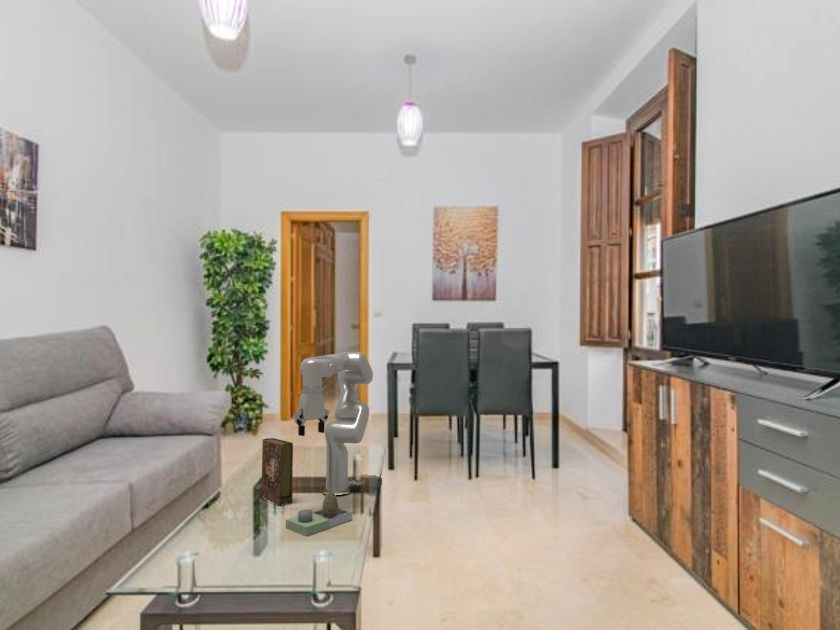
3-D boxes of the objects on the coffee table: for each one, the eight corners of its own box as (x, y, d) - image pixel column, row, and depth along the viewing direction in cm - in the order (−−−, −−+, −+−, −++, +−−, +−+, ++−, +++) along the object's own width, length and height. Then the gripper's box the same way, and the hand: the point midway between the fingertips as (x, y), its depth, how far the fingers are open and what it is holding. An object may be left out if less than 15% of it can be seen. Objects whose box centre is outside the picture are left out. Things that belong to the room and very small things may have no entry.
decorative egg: (324, 522, 189) (325, 494, 189) (320, 517, 194) (320, 490, 195) (340, 520, 191) (340, 492, 192) (335, 515, 197) (336, 488, 197)
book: (259, 498, 220) (260, 439, 221) (271, 495, 224) (272, 437, 225) (280, 506, 208) (281, 444, 210) (292, 503, 212) (293, 442, 214)
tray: (332, 513, 201) (332, 505, 201) (352, 520, 193) (352, 511, 193) (308, 521, 192) (308, 512, 192) (328, 528, 185) (328, 519, 185)
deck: (308, 520, 192) (308, 504, 192) (329, 528, 184) (329, 511, 185) (285, 528, 184) (285, 511, 185) (306, 536, 177) (306, 518, 177)
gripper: (323, 388, 214) (322, 430, 213) (288, 391, 201) (287, 435, 200) (335, 390, 210) (334, 432, 209) (300, 392, 196) (299, 438, 195)
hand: (311, 434), depth 204 cm, fingers open, 9 cm apart
